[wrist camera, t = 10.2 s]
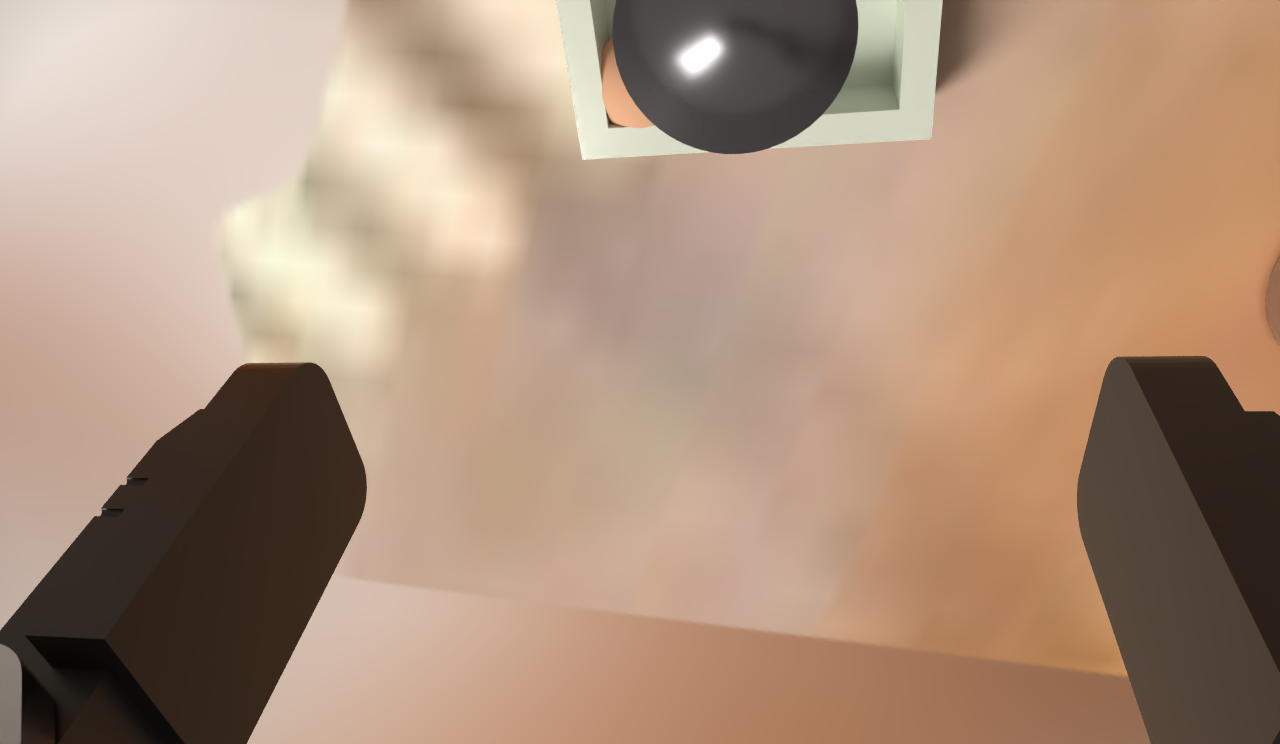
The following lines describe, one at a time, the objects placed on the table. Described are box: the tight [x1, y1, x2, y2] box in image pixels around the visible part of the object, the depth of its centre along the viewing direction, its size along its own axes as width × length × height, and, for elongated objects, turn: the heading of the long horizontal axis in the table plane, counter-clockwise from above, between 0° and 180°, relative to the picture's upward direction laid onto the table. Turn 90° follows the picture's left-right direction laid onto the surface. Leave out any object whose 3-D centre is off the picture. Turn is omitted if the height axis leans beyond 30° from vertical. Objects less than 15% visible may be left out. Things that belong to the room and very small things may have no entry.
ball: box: [601, 38, 654, 128], centre depth 29 cm, size 3×3×3 cm
